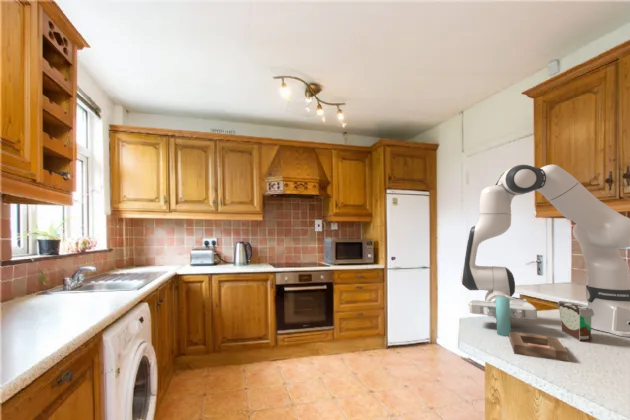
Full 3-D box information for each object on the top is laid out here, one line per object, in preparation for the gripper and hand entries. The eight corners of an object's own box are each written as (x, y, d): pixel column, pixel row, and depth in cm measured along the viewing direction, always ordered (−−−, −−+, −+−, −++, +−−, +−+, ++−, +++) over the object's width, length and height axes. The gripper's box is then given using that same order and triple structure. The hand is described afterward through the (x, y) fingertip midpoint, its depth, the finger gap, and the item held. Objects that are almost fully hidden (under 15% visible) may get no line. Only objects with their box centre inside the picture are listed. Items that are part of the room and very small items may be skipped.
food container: (606, 344, 92) (604, 310, 92) (582, 343, 93) (580, 309, 93) (579, 331, 104) (577, 301, 104) (559, 330, 105) (557, 300, 105)
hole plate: (556, 345, 91) (556, 336, 91) (568, 361, 80) (567, 351, 80) (509, 339, 96) (508, 331, 96) (514, 353, 85) (513, 343, 86)
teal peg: (510, 333, 102) (508, 297, 103) (511, 337, 98) (510, 299, 99) (496, 331, 104) (494, 296, 104) (497, 335, 100) (495, 298, 101)
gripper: (468, 294, 118) (467, 302, 106) (532, 299, 109) (540, 308, 96) (468, 311, 117) (468, 320, 105) (533, 317, 108) (541, 329, 96)
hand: (503, 315), depth 101 cm, fingers open, 6 cm apart
